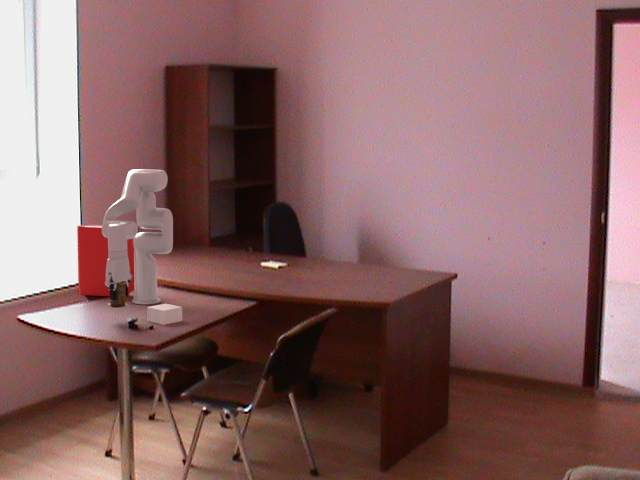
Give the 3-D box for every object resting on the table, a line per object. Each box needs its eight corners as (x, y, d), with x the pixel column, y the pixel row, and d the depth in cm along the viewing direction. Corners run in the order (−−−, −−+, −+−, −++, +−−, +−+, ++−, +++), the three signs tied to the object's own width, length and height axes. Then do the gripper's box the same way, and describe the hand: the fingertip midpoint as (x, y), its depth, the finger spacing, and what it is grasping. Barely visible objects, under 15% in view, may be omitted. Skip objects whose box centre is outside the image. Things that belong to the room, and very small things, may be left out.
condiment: (124, 302, 376) (124, 273, 374) (129, 307, 369) (129, 277, 367) (106, 304, 373) (106, 275, 371) (111, 308, 366) (110, 279, 364)
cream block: (147, 321, 375) (147, 307, 374) (166, 317, 383) (166, 303, 382) (163, 325, 369) (163, 310, 368) (182, 321, 376) (182, 307, 375)
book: (139, 293, 431) (139, 226, 427) (134, 297, 423) (133, 228, 419) (83, 291, 434) (82, 224, 430) (77, 294, 426) (76, 226, 422)
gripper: (124, 250, 377) (125, 292, 380) (96, 257, 362) (97, 301, 365) (139, 251, 374) (140, 294, 377) (110, 259, 359) (112, 303, 362)
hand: (119, 297), depth 371 cm, fingers closed on condiment, 6 cm apart
